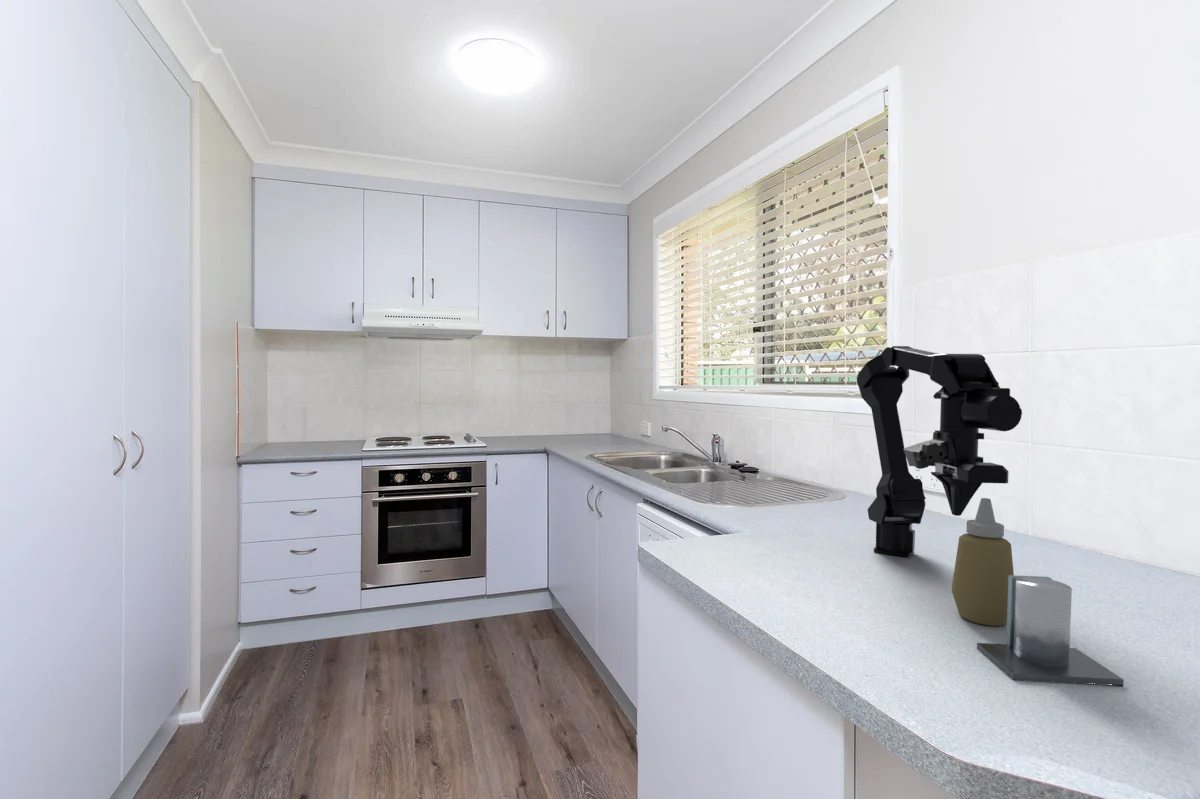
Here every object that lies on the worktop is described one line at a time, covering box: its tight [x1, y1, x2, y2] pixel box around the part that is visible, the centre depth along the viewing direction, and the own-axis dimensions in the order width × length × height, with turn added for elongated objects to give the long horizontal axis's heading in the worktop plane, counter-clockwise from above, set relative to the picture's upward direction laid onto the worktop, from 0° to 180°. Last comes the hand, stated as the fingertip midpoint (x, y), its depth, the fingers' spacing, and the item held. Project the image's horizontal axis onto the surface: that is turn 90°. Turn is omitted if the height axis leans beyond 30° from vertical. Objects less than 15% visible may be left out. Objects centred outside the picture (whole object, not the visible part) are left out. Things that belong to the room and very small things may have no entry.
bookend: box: [976, 574, 1125, 686], centre depth 72 cm, size 8×12×10 cm, turn 84°
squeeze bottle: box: [951, 497, 1015, 627], centre depth 86 cm, size 8×8×18 cm
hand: (956, 515), depth 102 cm, fingers closed
